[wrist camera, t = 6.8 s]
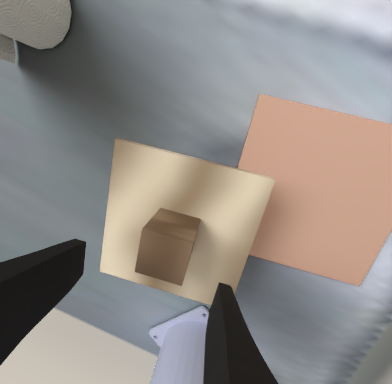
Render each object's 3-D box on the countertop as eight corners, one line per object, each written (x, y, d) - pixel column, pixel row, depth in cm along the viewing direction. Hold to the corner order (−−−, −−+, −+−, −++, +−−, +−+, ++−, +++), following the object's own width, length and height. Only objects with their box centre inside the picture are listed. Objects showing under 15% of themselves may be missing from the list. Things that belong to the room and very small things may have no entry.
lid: (272, 177, 15) (290, 195, 10) (228, 302, 18) (228, 354, 14) (120, 138, 15) (81, 140, 11) (104, 265, 19) (70, 303, 14)
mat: (439, 136, 16) (444, 136, 16) (357, 283, 20) (359, 286, 20) (259, 94, 17) (259, 94, 17) (215, 243, 21) (214, 245, 21)
